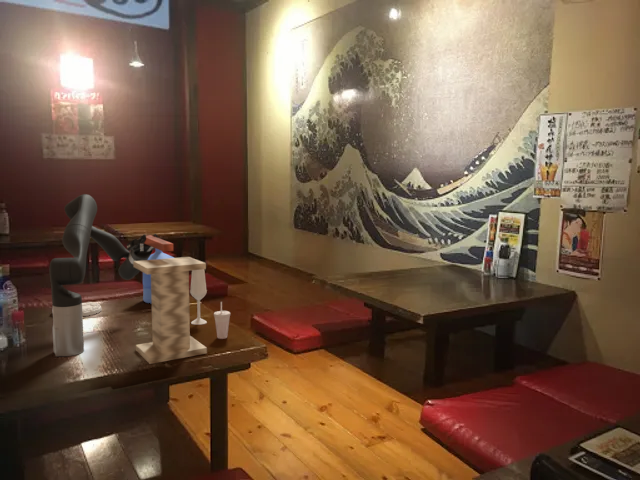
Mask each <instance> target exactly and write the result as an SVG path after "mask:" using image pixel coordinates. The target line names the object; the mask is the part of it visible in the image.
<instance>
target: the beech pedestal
mask: <svg viewBox="0 0 640 480" xmlns="http://www.w3.org/2000/svg"><path fill="white" fill-rule="evenodd" d="M133 264H134V267H135V268H136V269H138V270H140V272H142V273H143V272H144V273H145V274H151V300H152V304H151V334H152V337H151V338H152V342H145V343H139V344H135V351H136V352H137V353H138V354H139V355H140V356H141V357H142V358H143V359H144V360H145V361H146V362H147V363H148V364H149V365H151V364H157V363H162V362H167V361H173V360H179V359H184V358H188V357H189V358H190V357H194V356H199V355H204V354H205V355H206V354H207V353H208V348H207V346H205V345H204V344H202V343H201V342H199V341H198V340H197V339H195V338H194V337H193V336H191V333H190V331H191V330H190V327H191V326H190V325H191V324H190V323H191V322H190V321H191V319H190V274H189V273H190V271H192V270H201V269H204V270H206V269H207V263H206V262H205V261H201V260H199V259H195V258H193V257H191V256H181V257H174V258H168V259H155V260H142V261H133Z"/></svg>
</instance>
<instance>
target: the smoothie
mask: <svg viewBox="0 0 640 480" xmlns="http://www.w3.org/2000/svg"><path fill="white" fill-rule="evenodd" d="M230 316H231V312H230V311H228V310H223V301H220V310H219V311H218V310H217V311H214V313H213V317H214V322H215V329H216V330H215V331H216V336H217V339H219V340H223V339H224V340H225V339H227V338H228V333H229V325H230V324H229V323H230V318H231V317H230Z"/></svg>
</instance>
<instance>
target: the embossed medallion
mask: <svg viewBox="0 0 640 480" xmlns="http://www.w3.org/2000/svg"><path fill="white" fill-rule="evenodd" d="M101 311H102V306H101V304H100V303H98V302H94V301H93V302H92V301H87V302H82V316H83V317H89V315H97V314H99V313H100V312H101ZM96 313H97V314H96ZM52 314H53V309H52Z"/></svg>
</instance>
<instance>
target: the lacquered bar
mask: <svg viewBox="0 0 640 480" xmlns="http://www.w3.org/2000/svg"><path fill="white" fill-rule="evenodd" d="M159 238H160V237H158V238H157V237H154V236H153V235H151V234H149V235H146V241H145V242H144V243H145V244H147V245H149V246H152V247H154V248H156V249H159V250H161V251H162V252H163V253H165V252H174V243H172V242H170V241H167V240H164V239H162V238H160V239H159Z"/></svg>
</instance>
